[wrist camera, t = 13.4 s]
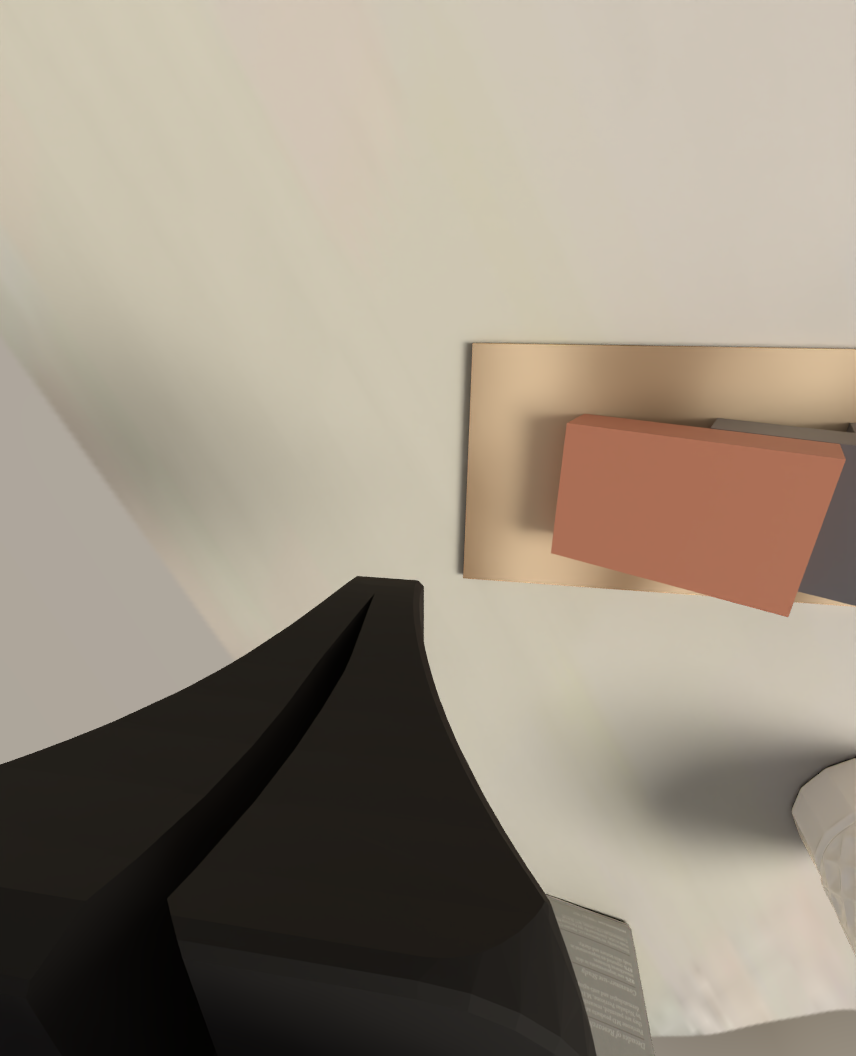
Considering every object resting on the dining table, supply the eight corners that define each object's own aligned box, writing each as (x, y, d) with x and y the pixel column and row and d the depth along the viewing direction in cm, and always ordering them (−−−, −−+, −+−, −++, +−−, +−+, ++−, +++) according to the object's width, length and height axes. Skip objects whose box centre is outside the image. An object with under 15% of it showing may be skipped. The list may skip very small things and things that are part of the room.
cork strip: (463, 574, 21) (463, 578, 20) (473, 343, 17) (472, 343, 17) (1205, 627, 17) (1216, 632, 17) (1417, 357, 14) (1436, 358, 13)
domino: (677, 561, 17) (957, 631, 13) (710, 427, 15) (1046, 468, 12) (687, 542, 18) (943, 601, 15) (717, 418, 16) (1020, 451, 13)
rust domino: (551, 553, 18) (788, 617, 14) (566, 423, 16) (845, 459, 12) (567, 535, 19) (788, 589, 15) (584, 413, 17) (839, 443, 14)
